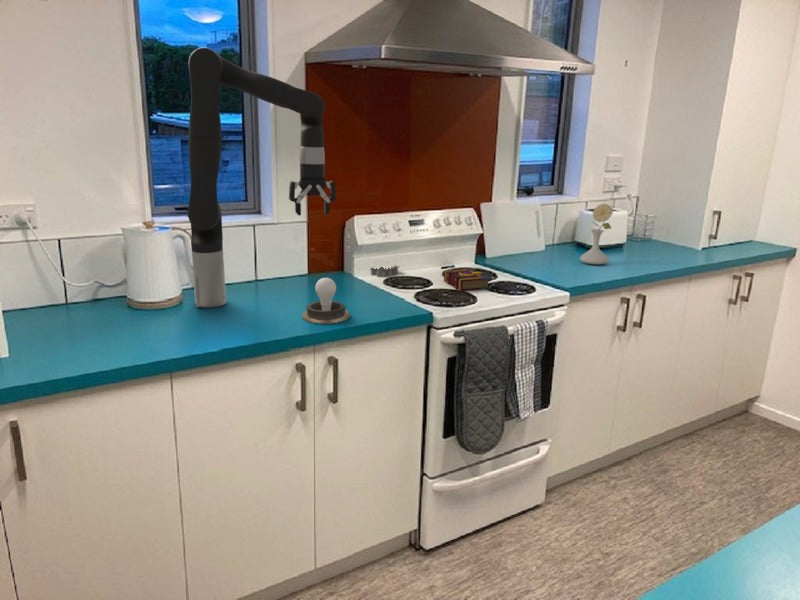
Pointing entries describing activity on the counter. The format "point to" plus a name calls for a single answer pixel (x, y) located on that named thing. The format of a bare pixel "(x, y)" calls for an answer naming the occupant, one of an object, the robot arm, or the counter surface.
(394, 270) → the egg carton
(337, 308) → the bulb holder
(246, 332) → the counter surface
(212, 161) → the robot arm
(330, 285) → the lightbulb
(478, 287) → the decorative book
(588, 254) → the flower in vase
